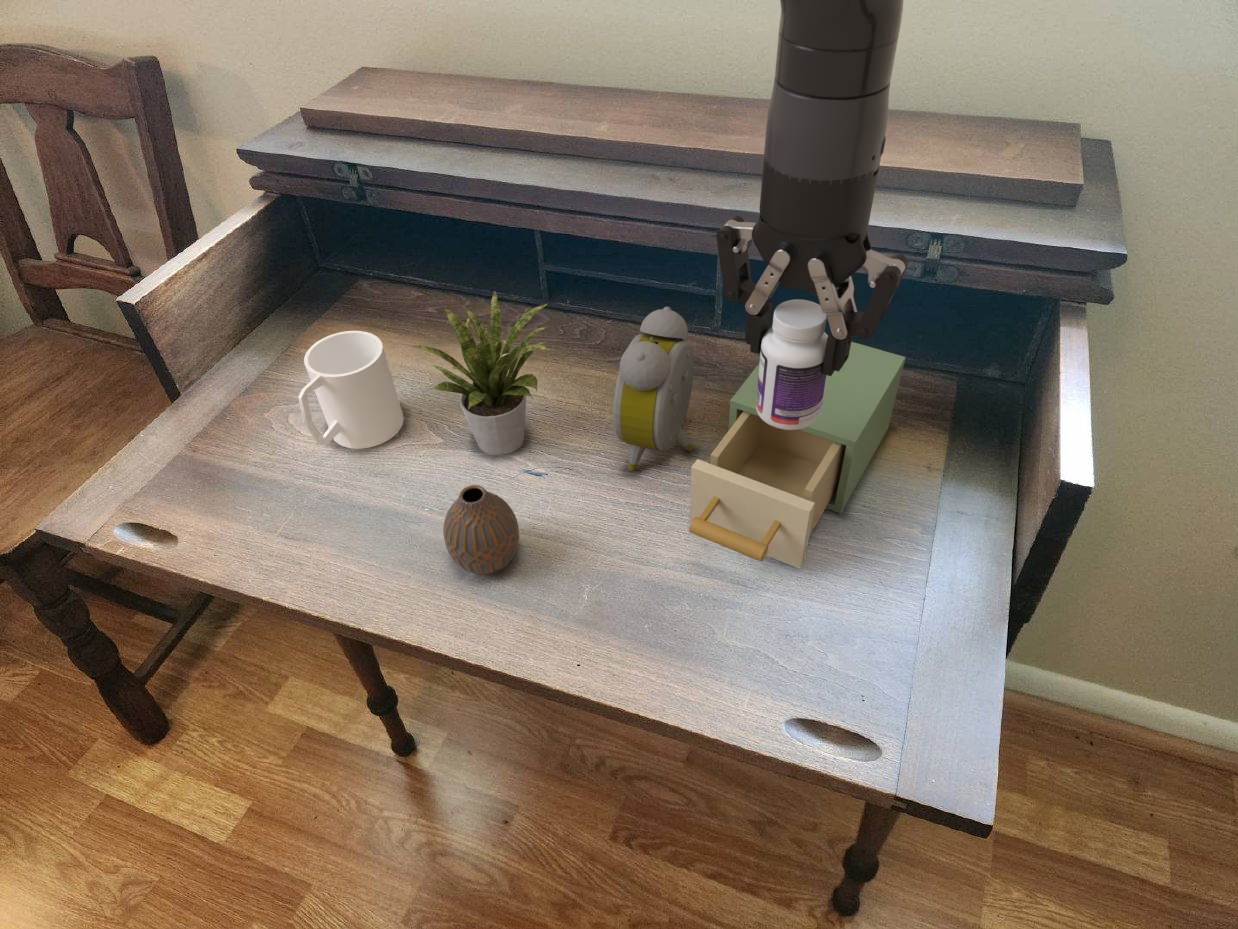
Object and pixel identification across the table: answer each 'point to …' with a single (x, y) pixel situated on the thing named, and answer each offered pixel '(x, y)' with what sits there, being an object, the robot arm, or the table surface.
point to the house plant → (492, 380)
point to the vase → (481, 531)
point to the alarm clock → (654, 386)
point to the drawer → (764, 489)
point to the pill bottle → (792, 366)
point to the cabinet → (846, 410)
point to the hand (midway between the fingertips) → (794, 358)
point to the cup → (351, 390)
